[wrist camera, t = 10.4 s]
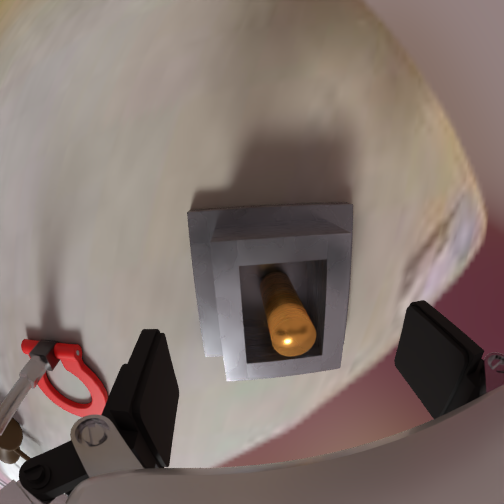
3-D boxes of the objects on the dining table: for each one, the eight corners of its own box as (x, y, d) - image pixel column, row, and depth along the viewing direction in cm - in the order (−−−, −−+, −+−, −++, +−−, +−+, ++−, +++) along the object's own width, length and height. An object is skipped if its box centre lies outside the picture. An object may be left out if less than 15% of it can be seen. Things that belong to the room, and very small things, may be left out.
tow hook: (121, 414, 22) (87, 340, 19) (89, 524, 10) (15, 464, 7) (57, 404, 22) (20, 334, 19) (14, 491, 10) (-52, 423, 7)
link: (215, 226, 17) (210, 242, 13) (325, 219, 17) (350, 232, 13) (227, 343, 19) (226, 381, 15) (322, 334, 19) (340, 368, 15)
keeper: (189, 210, 17) (163, 233, 11) (346, 202, 18) (405, 220, 11) (206, 348, 20) (198, 418, 13) (339, 336, 20) (375, 396, 14)
